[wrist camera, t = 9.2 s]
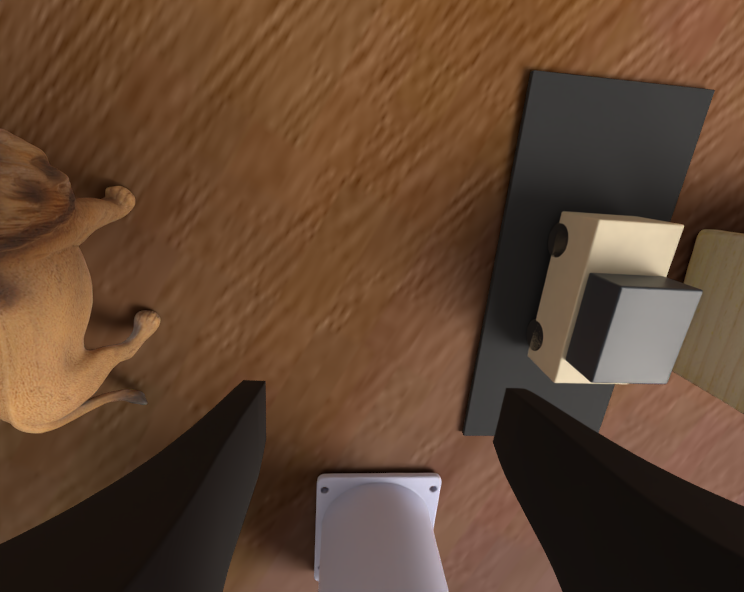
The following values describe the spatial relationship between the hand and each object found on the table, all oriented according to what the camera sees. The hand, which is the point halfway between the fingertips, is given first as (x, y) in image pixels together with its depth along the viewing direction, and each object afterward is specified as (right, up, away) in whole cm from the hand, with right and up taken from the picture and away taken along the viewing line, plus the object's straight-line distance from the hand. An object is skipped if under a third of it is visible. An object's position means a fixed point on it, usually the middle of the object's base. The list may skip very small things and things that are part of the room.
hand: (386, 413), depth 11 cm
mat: (+11, +4, +9) cm, 15 cm away
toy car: (+11, +4, +9) cm, 15 cm away
